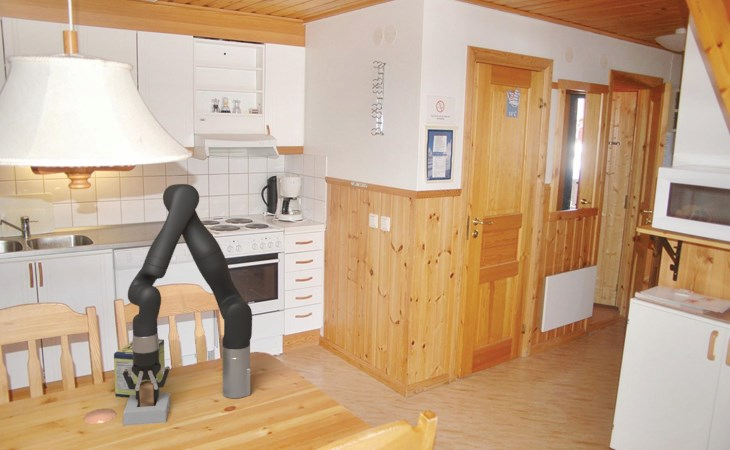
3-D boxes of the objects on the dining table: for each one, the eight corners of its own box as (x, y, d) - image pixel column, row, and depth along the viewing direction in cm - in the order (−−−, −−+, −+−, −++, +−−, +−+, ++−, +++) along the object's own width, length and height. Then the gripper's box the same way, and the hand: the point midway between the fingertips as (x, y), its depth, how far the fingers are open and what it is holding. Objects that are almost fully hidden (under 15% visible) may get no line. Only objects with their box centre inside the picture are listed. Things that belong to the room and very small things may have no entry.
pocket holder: (170, 405, 184) (169, 392, 183) (165, 423, 172) (165, 410, 172) (130, 408, 181) (130, 395, 181) (123, 427, 170) (123, 413, 169)
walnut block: (155, 410, 179) (154, 380, 178) (154, 416, 175) (153, 386, 174) (142, 411, 178) (141, 381, 177) (140, 417, 174) (139, 387, 173)
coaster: (118, 409, 180) (118, 407, 180) (112, 423, 171) (112, 421, 171) (88, 412, 178) (87, 409, 178) (80, 426, 169) (80, 423, 169)
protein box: (165, 380, 202) (164, 338, 200) (144, 400, 187) (143, 355, 184) (137, 378, 203) (136, 337, 201) (114, 398, 188) (112, 353, 185)
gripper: (171, 341, 179) (172, 393, 181) (123, 344, 175) (125, 396, 178) (168, 350, 171) (170, 404, 174) (118, 353, 168) (120, 407, 171)
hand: (147, 399), depth 176 cm, fingers closed on walnut block, 4 cm apart
